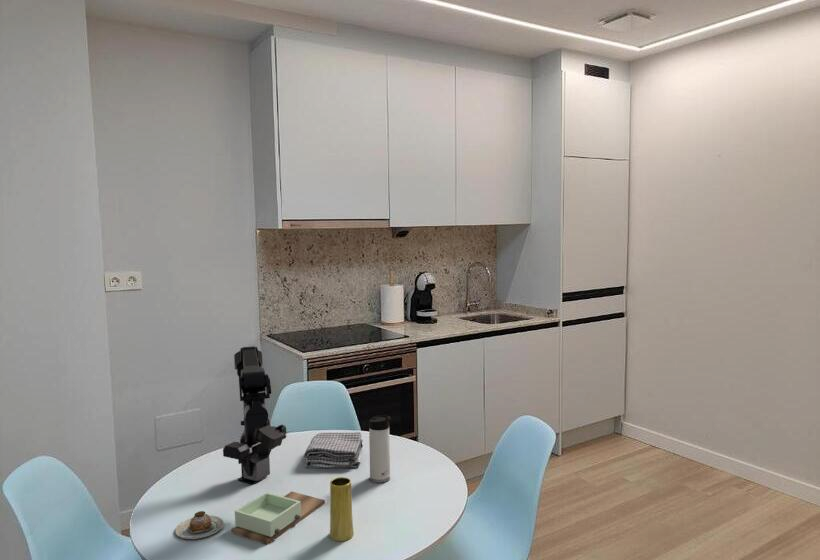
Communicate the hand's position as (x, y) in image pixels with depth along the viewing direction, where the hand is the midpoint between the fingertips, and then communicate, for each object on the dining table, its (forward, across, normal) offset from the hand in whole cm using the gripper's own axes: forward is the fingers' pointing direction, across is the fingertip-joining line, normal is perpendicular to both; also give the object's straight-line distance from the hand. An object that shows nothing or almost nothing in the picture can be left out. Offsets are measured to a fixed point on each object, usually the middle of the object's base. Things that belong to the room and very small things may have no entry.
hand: (256, 472), depth 159 cm
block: (+1, 0, 0) cm, 1 cm away
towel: (+11, +40, +2) cm, 42 cm away
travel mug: (+12, +34, -19) cm, 41 cm away
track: (+12, +1, -7) cm, 14 cm away
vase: (+12, +1, -27) cm, 30 cm away
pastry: (+12, -13, +8) cm, 20 cm away
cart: (+10, -4, -7) cm, 13 cm away
